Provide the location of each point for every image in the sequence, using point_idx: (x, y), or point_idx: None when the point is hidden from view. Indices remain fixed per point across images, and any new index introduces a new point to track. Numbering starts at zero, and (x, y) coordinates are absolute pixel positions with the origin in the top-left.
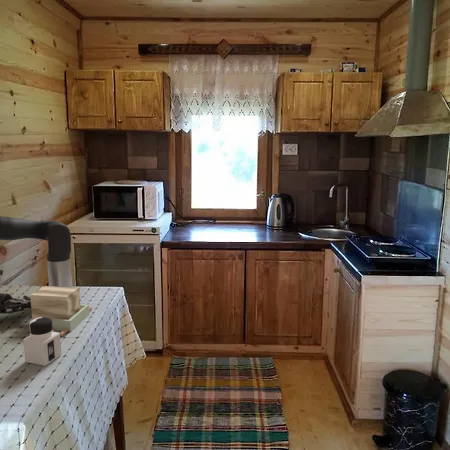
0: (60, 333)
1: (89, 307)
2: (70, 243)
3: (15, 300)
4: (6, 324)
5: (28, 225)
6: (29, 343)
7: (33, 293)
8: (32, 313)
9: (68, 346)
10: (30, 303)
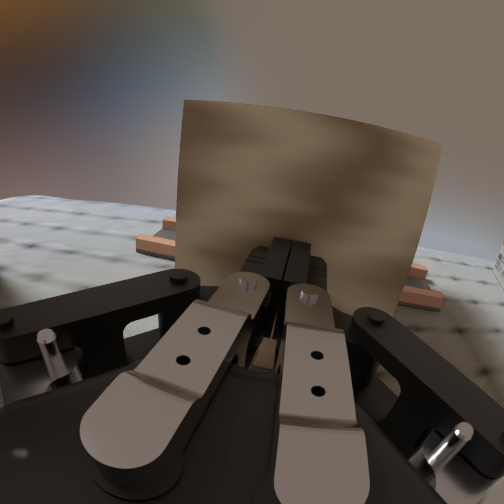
0: (426, 268)
1: (169, 219)
2: None
3: (183, 447)
4: None
5: None
6: None
7: (400, 132)
8: (396, 303)
9: (456, 266)
10: (307, 277)
